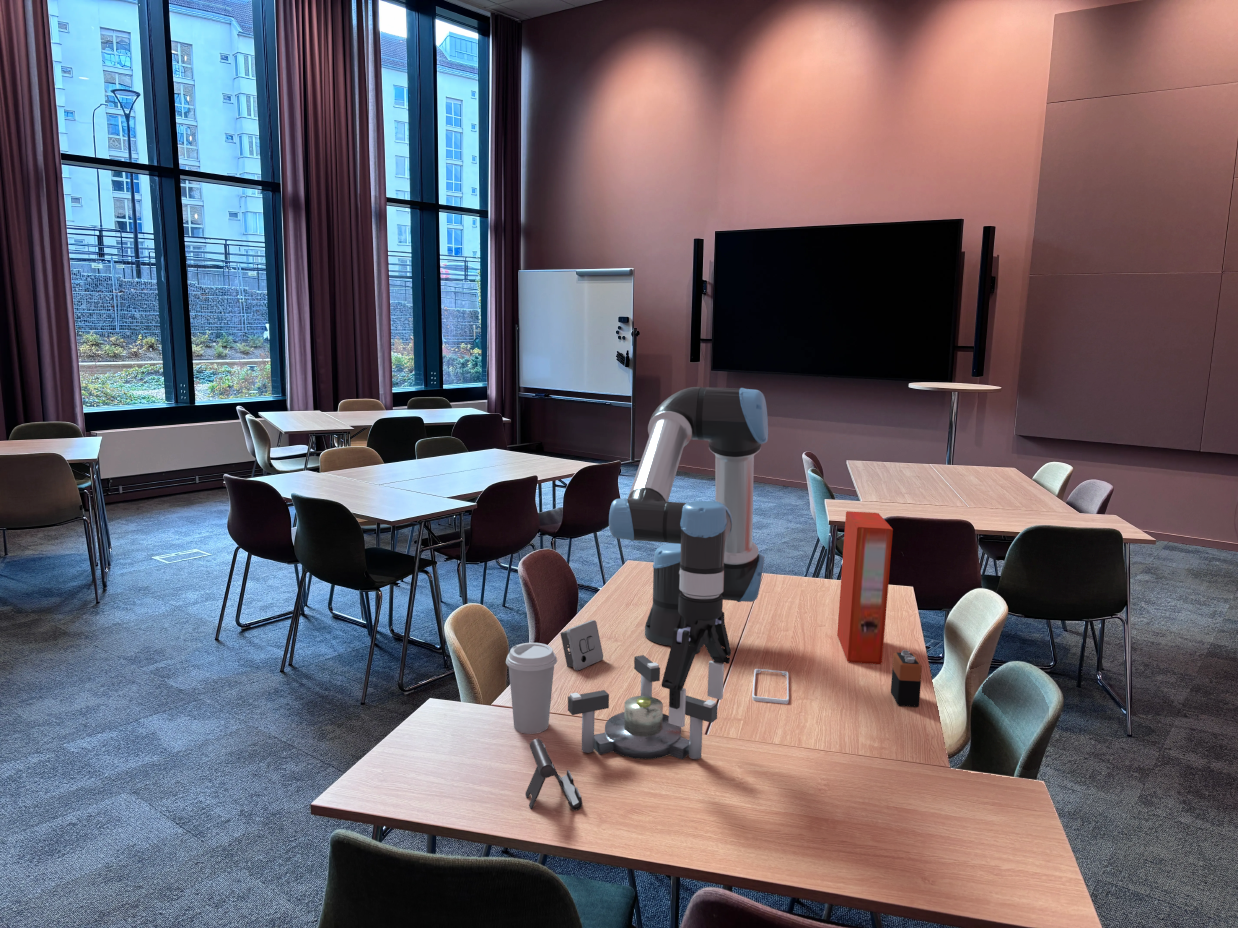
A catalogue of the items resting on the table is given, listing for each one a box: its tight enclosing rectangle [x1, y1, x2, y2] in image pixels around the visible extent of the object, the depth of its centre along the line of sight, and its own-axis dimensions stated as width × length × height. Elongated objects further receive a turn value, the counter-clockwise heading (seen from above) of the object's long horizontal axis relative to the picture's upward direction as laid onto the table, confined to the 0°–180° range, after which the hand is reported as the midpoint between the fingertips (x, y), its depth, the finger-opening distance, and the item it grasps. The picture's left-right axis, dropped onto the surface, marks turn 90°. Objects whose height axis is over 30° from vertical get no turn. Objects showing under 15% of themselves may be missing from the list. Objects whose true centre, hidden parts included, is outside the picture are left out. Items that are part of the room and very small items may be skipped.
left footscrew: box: [685, 694, 718, 760], centre depth 145 cm, size 7×2×11 cm, turn 55°
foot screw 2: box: [633, 654, 661, 697], centre depth 162 cm, size 7×2×11 cm, turn 25°
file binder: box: [836, 510, 894, 666], centre depth 196 cm, size 8×17×32 cm, turn 173°
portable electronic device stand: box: [525, 738, 583, 812], centre depth 132 cm, size 9×8×8 cm
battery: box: [890, 649, 923, 708], centre depth 171 cm, size 4×7×10 cm, turn 175°
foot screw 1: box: [567, 689, 610, 754], centre depth 147 cm, size 7×2×11 cm, turn 115°
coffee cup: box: [505, 642, 558, 735], centre depth 156 cm, size 10×10×15 cm
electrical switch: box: [559, 619, 604, 671], centre depth 187 cm, size 9×5×9 cm, turn 141°
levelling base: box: [594, 695, 689, 760], centre depth 151 cm, size 18×16×8 cm
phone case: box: [751, 668, 790, 705], centre depth 176 cm, size 7×1×15 cm
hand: (696, 710), depth 145 cm, fingers open, 13 cm apart
